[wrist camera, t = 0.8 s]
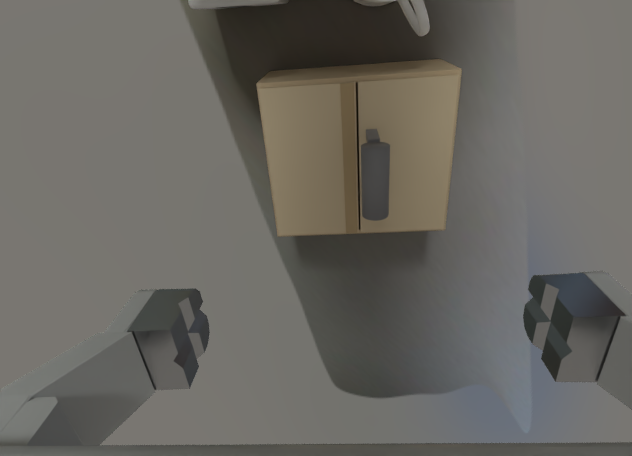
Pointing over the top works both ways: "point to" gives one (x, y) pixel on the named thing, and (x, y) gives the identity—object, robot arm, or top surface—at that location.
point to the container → (231, 3)
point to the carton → (324, 142)
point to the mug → (407, 13)
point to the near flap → (405, 151)
